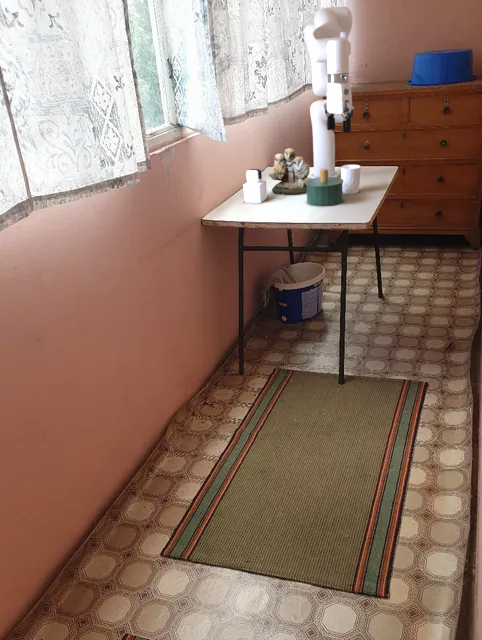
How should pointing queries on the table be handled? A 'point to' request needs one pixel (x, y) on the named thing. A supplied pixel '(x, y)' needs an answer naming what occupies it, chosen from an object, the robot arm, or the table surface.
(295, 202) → the table surface
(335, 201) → the tin
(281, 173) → the owl figurine
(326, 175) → the lid
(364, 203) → the table surface
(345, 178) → the white cup
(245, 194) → the medicine bottle
